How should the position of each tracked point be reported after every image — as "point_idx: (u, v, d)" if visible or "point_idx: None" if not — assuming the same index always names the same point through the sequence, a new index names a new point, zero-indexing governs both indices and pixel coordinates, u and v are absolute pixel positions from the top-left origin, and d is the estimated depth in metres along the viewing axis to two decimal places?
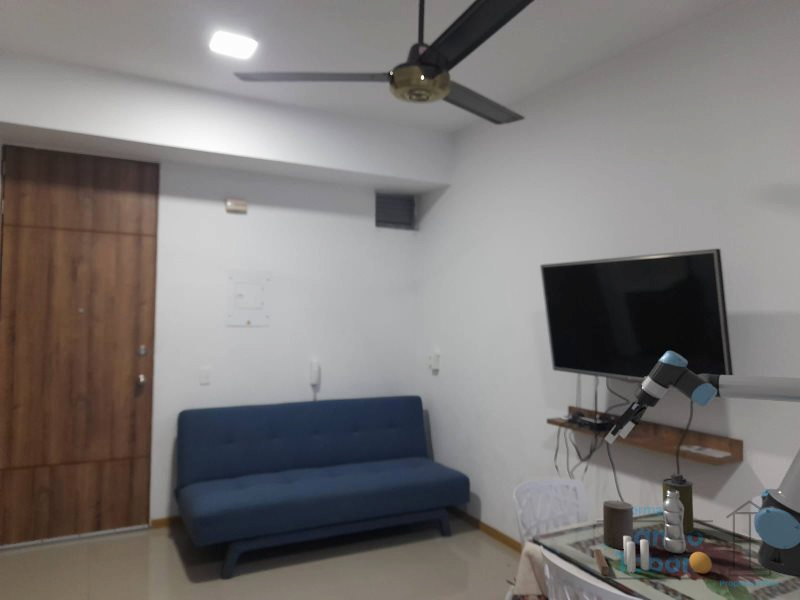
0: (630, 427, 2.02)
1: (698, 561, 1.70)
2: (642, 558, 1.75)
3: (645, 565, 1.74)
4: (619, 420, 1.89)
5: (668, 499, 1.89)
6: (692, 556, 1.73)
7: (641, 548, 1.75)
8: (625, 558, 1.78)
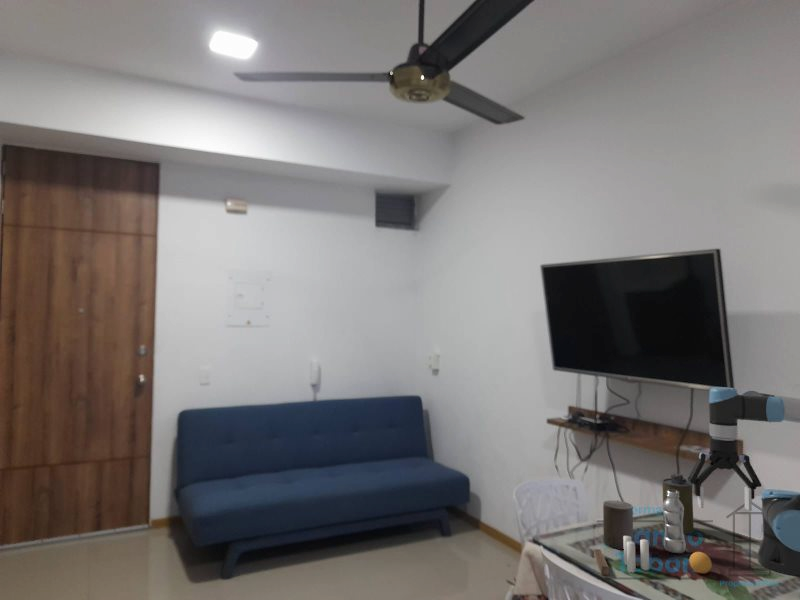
0: (747, 494, 1.72)
1: (698, 561, 1.70)
2: (642, 558, 1.75)
3: (645, 565, 1.74)
4: (690, 475, 1.75)
5: (668, 499, 1.89)
6: (692, 556, 1.73)
7: (641, 548, 1.75)
8: (625, 558, 1.78)
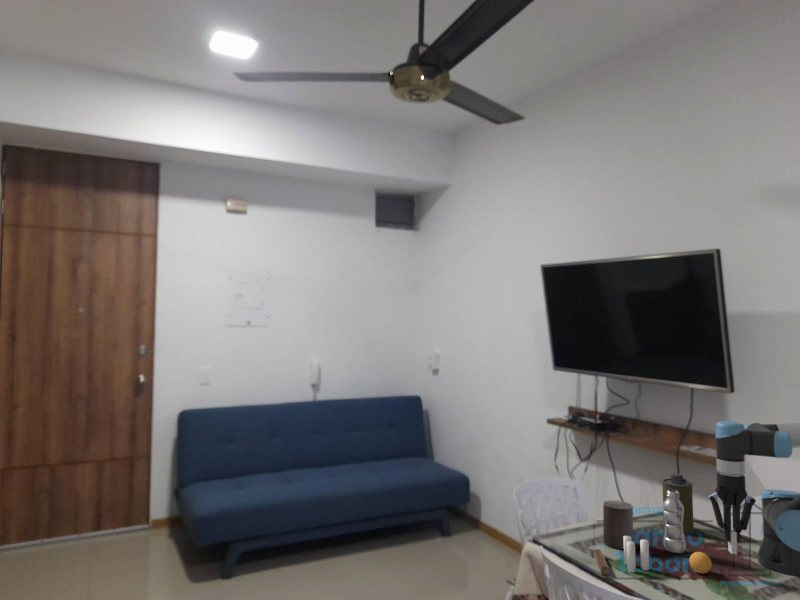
0: None
1: (698, 561, 1.70)
2: (642, 558, 1.75)
3: (645, 565, 1.74)
4: (716, 520, 1.73)
5: (668, 499, 1.89)
6: (692, 556, 1.73)
7: (641, 548, 1.75)
8: (625, 558, 1.78)
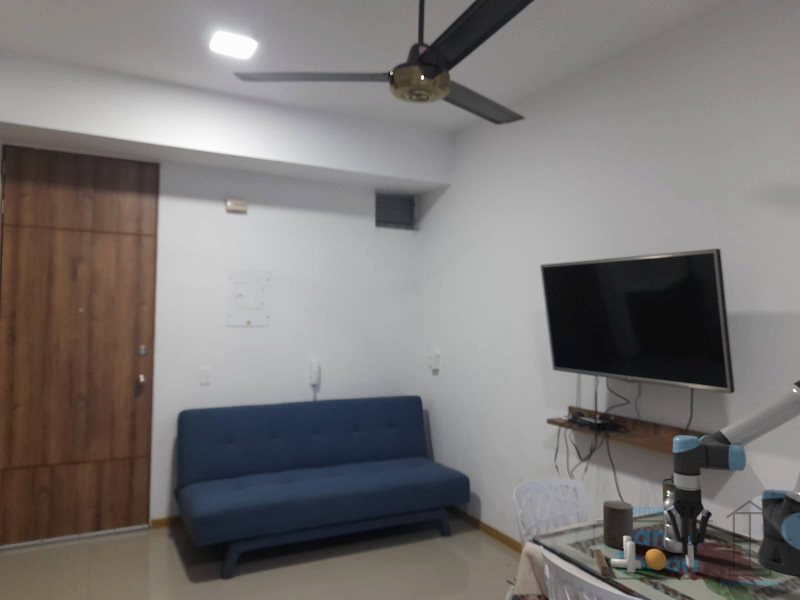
0: None
1: (663, 562, 1.72)
2: None
3: (636, 565, 1.75)
4: (674, 534, 1.75)
5: (668, 499, 1.89)
6: (665, 558, 1.74)
7: (619, 567, 1.76)
8: (625, 558, 1.78)
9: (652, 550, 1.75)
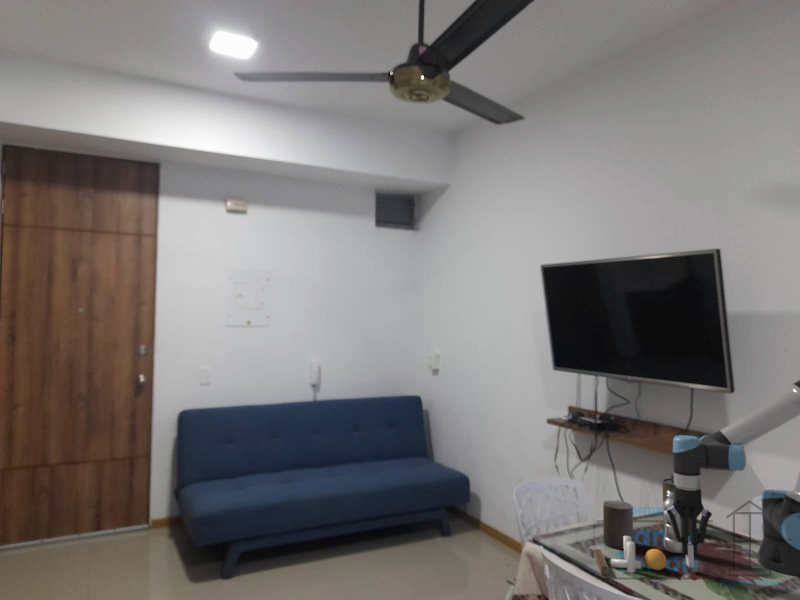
0: None
1: (663, 562, 1.72)
2: None
3: (636, 566, 1.75)
4: (674, 534, 1.75)
5: (668, 499, 1.89)
6: (665, 558, 1.74)
7: (619, 567, 1.76)
8: (625, 558, 1.78)
9: (652, 550, 1.75)
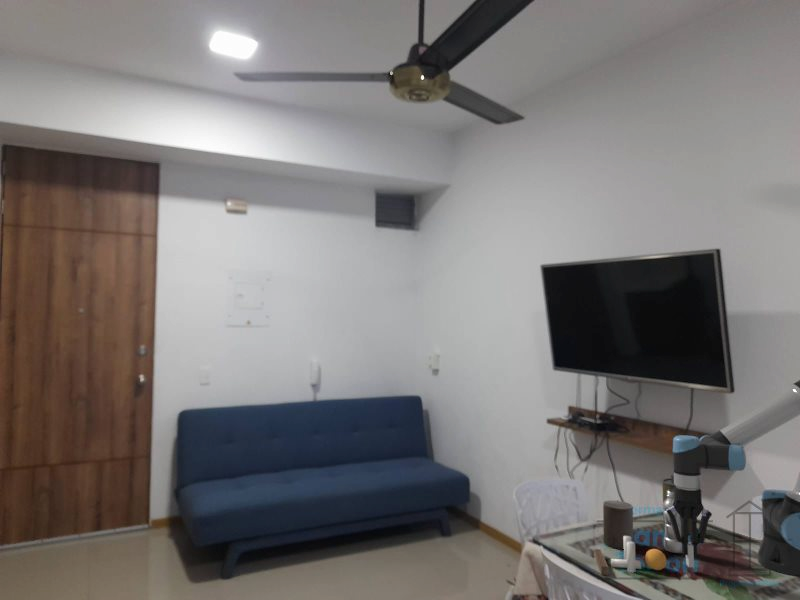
0: None
1: (663, 562, 1.72)
2: None
3: (636, 565, 1.75)
4: (674, 534, 1.75)
5: (668, 499, 1.89)
6: (665, 558, 1.74)
7: (619, 567, 1.76)
8: (625, 558, 1.78)
9: (652, 550, 1.75)
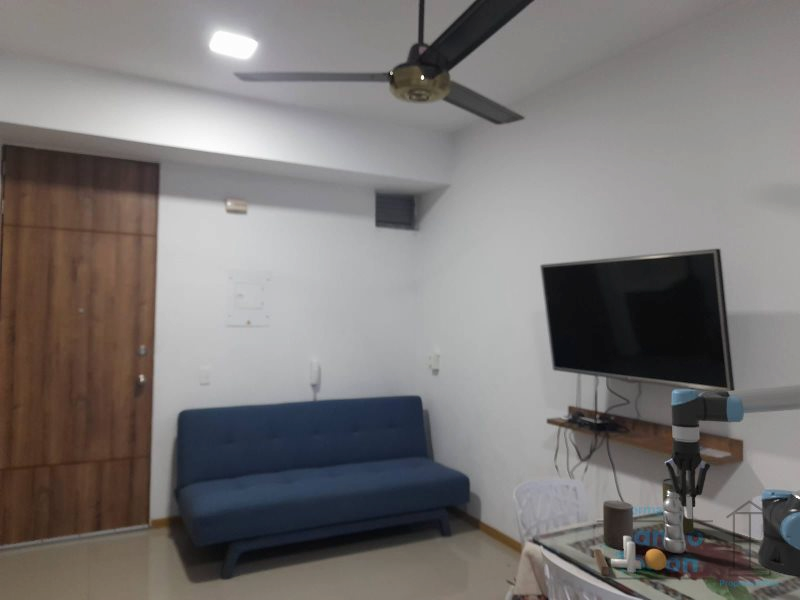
0: None
1: (663, 562, 1.72)
2: None
3: (636, 566, 1.75)
4: (673, 486, 1.76)
5: (668, 499, 1.89)
6: (665, 558, 1.74)
7: (619, 567, 1.76)
8: (625, 558, 1.78)
9: (652, 550, 1.75)
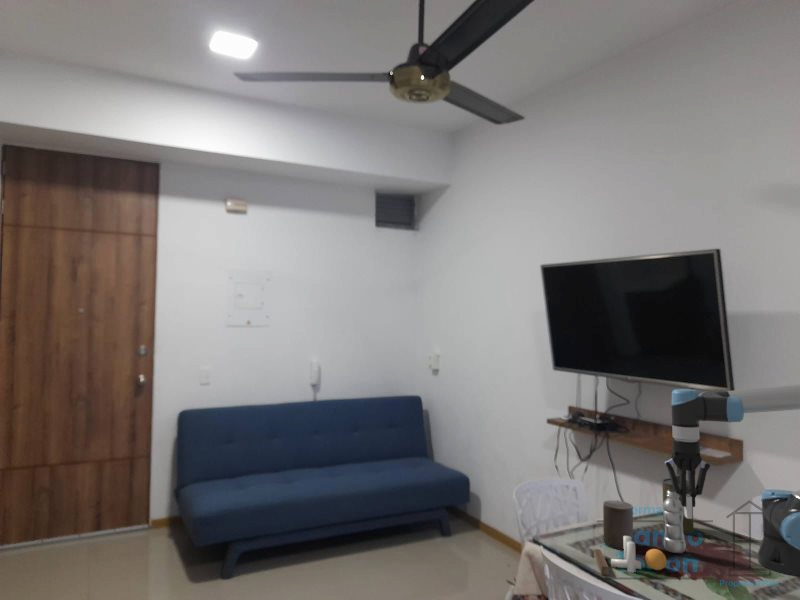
0: None
1: (663, 562, 1.72)
2: None
3: (636, 566, 1.75)
4: (673, 486, 1.76)
5: (668, 499, 1.89)
6: (665, 558, 1.74)
7: (619, 567, 1.76)
8: (625, 558, 1.78)
9: (652, 550, 1.75)
